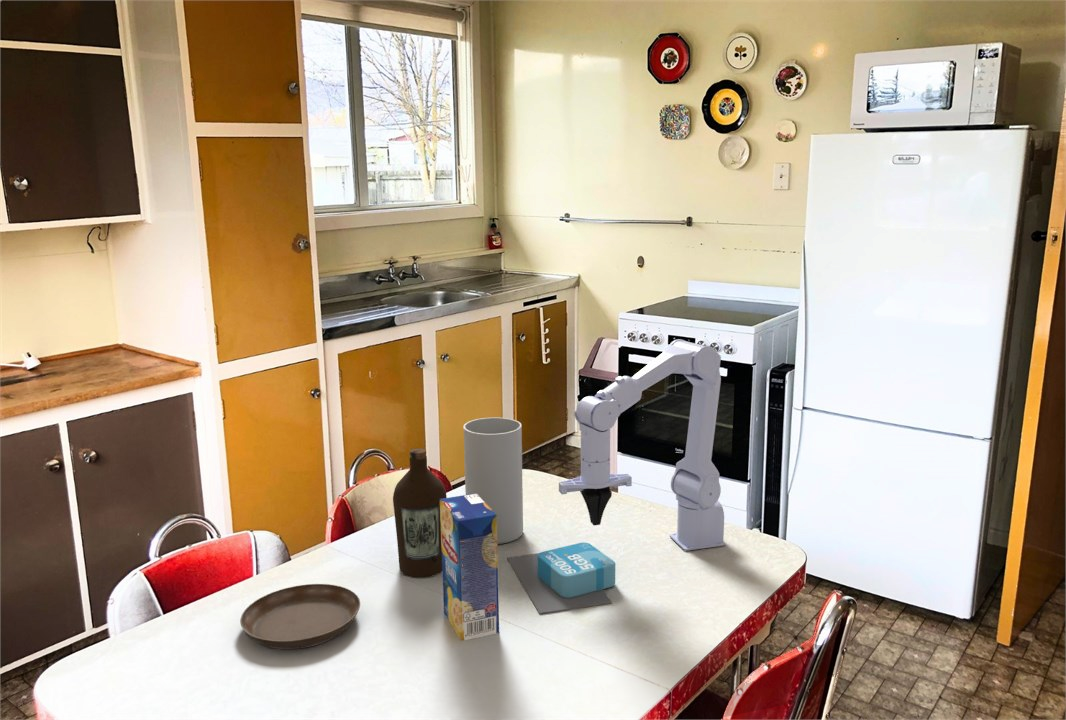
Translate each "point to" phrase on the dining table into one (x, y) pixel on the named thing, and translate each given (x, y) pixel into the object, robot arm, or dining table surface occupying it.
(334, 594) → the plant saucer
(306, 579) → the dining table surface
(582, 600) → the mat
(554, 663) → the dining table surface
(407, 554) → the olive oil
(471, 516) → the beverage box
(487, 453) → the cylinder vase
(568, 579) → the data package
